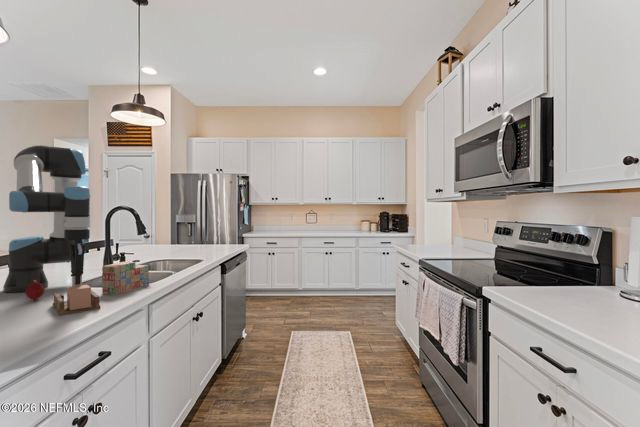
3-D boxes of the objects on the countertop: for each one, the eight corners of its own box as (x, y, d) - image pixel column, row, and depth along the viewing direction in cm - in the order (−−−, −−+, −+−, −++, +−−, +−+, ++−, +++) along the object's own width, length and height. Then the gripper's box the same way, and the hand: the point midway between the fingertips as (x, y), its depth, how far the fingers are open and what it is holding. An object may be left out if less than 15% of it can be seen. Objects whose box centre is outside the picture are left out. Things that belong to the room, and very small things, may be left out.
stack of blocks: (137, 283, 163) (137, 258, 163) (149, 284, 162) (149, 258, 162) (101, 294, 142) (102, 265, 142) (114, 295, 141) (114, 266, 141)
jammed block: (67, 306, 119) (67, 287, 119) (87, 303, 123) (87, 284, 123) (69, 310, 115) (70, 290, 115) (90, 306, 119) (90, 287, 119)
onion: (47, 299, 133) (47, 279, 133) (30, 303, 128) (30, 282, 127) (39, 297, 135) (39, 278, 135) (22, 301, 130) (22, 280, 130)
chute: (52, 305, 124) (52, 293, 124) (90, 299, 133) (91, 288, 133) (58, 315, 113) (58, 302, 113) (100, 308, 121) (100, 296, 121)
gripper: (61, 228, 123) (61, 291, 124) (67, 229, 114) (67, 298, 114) (85, 227, 129) (85, 288, 129) (93, 229, 119) (93, 294, 120)
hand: (77, 293), depth 122 cm, fingers closed
